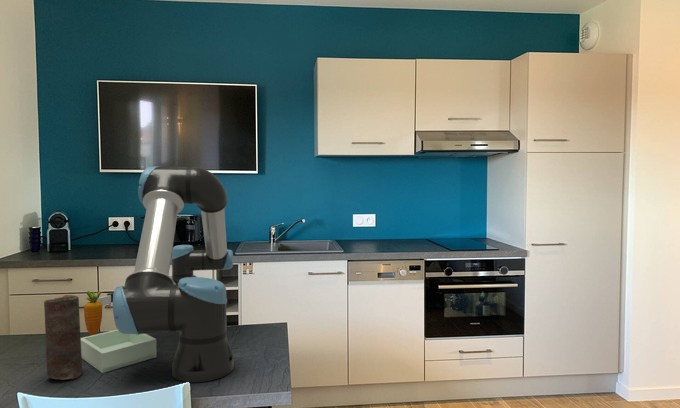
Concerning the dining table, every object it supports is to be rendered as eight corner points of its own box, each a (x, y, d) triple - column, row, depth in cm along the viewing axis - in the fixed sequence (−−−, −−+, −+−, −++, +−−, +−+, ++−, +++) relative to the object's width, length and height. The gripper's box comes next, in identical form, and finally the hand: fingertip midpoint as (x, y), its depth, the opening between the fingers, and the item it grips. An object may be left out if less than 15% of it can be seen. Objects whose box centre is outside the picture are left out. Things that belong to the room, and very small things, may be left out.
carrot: (106, 336, 138) (105, 288, 137) (96, 341, 133) (95, 292, 132) (91, 335, 138) (90, 288, 137) (80, 341, 133) (79, 291, 132)
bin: (156, 356, 121) (156, 339, 121) (102, 373, 111) (102, 353, 111) (130, 342, 132) (130, 326, 132) (79, 356, 121) (79, 338, 121)
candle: (46, 386, 103) (44, 302, 103) (45, 375, 109) (43, 295, 109) (84, 378, 108) (82, 297, 107) (80, 368, 114) (79, 291, 113)
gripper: (185, 307, 151) (130, 324, 133) (138, 298, 163) (81, 312, 145) (185, 286, 151) (129, 300, 132) (138, 278, 163) (80, 290, 145)
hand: (104, 306), depth 139 cm, fingers open, 13 cm apart
